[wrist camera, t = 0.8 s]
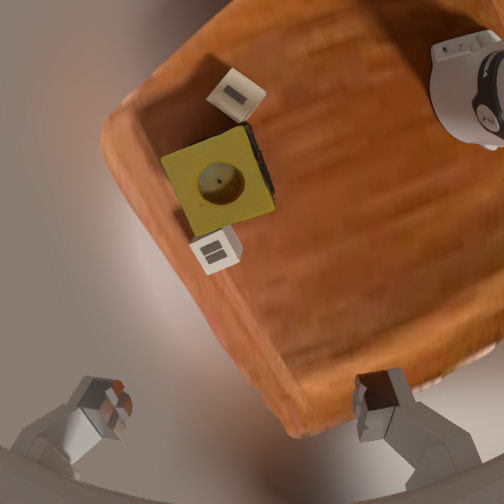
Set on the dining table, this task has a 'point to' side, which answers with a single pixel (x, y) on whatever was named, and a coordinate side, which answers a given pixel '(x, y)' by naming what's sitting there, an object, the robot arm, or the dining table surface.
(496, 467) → the robot arm
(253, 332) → the dining table surface
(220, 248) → the cream block marked
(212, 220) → the candle
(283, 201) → the dining table surface
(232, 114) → the beech block marked
